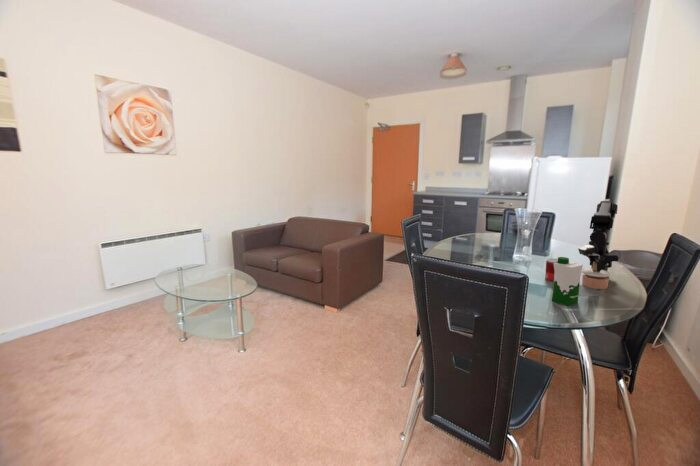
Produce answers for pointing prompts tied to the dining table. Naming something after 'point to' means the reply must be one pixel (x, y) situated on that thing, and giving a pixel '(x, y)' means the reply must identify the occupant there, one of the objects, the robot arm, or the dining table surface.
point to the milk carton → (566, 281)
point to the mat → (589, 291)
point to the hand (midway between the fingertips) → (596, 270)
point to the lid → (595, 271)
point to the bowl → (595, 282)
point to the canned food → (550, 269)
